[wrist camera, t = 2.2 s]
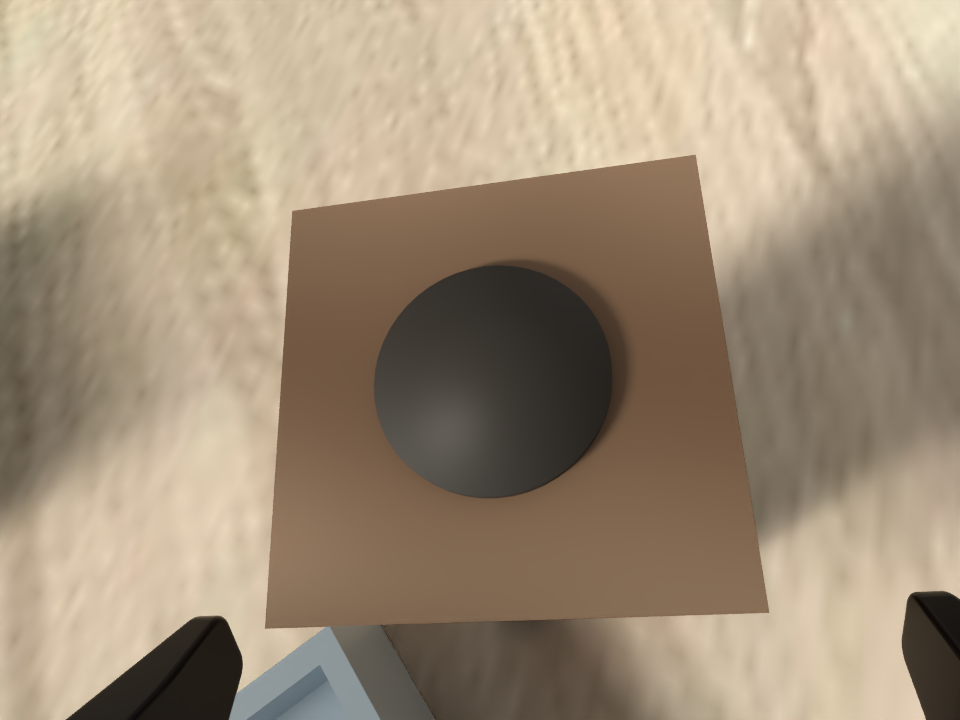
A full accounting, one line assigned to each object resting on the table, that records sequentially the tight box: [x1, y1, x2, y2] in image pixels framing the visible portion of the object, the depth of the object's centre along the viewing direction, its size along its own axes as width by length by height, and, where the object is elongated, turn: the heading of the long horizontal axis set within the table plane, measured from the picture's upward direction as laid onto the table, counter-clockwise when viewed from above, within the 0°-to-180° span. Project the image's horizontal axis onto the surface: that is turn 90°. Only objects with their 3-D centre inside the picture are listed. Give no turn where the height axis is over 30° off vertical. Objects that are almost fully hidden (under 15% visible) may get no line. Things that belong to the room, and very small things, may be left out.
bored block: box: [265, 155, 769, 629], centre depth 13 cm, size 5×5×13 cm
